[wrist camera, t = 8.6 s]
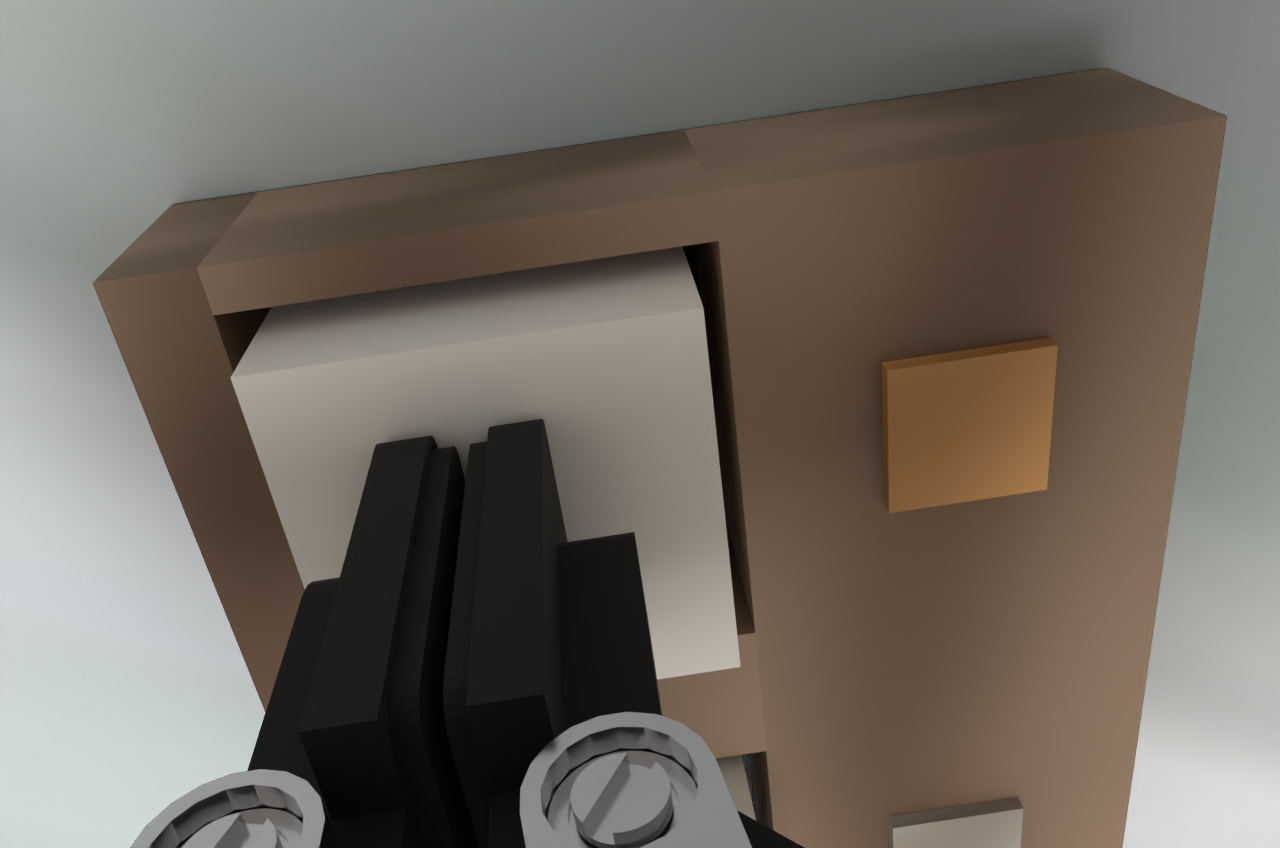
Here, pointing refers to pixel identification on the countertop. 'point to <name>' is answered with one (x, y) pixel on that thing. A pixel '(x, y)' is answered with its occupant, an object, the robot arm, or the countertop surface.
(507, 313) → the end button
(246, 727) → the countertop surface
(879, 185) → the button board
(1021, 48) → the countertop surface
